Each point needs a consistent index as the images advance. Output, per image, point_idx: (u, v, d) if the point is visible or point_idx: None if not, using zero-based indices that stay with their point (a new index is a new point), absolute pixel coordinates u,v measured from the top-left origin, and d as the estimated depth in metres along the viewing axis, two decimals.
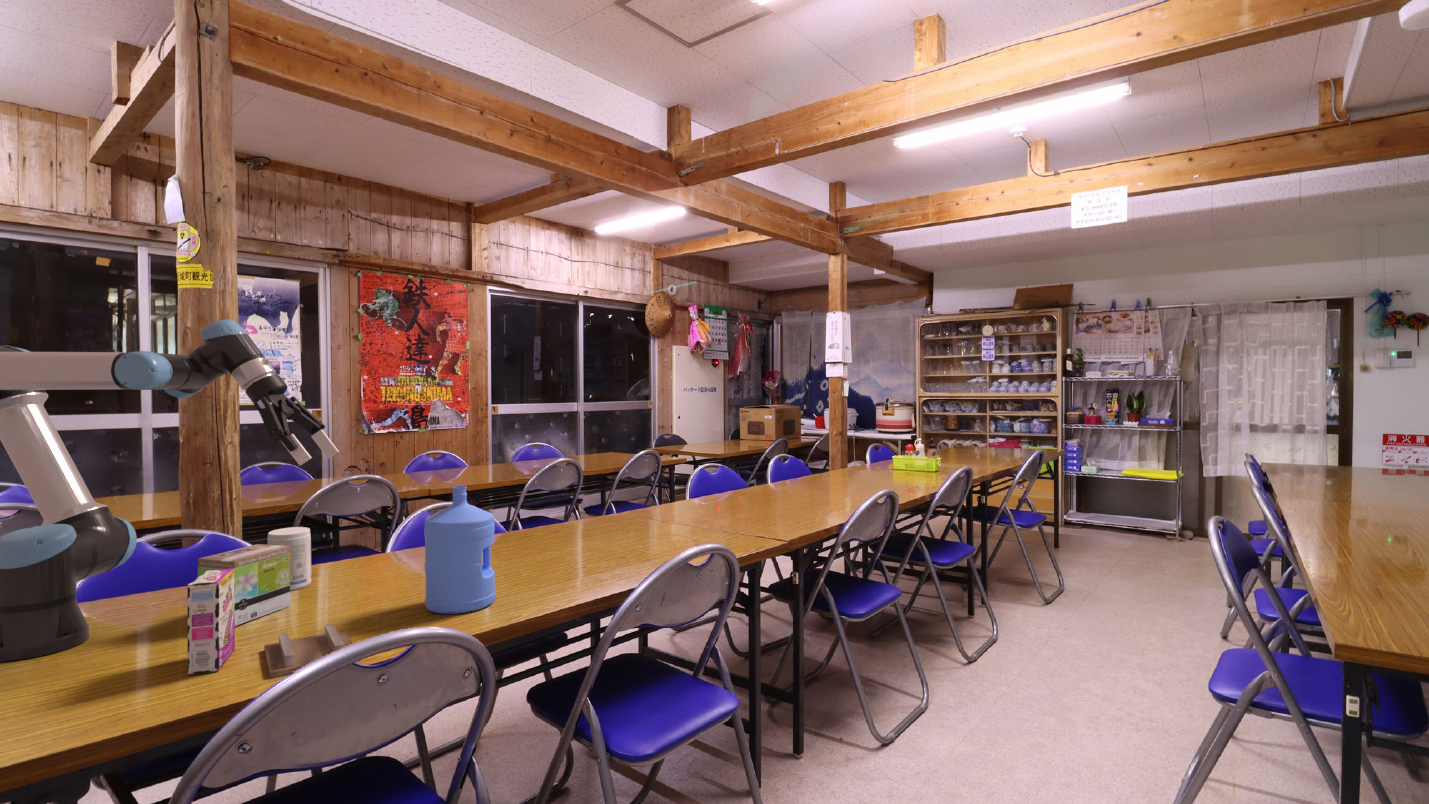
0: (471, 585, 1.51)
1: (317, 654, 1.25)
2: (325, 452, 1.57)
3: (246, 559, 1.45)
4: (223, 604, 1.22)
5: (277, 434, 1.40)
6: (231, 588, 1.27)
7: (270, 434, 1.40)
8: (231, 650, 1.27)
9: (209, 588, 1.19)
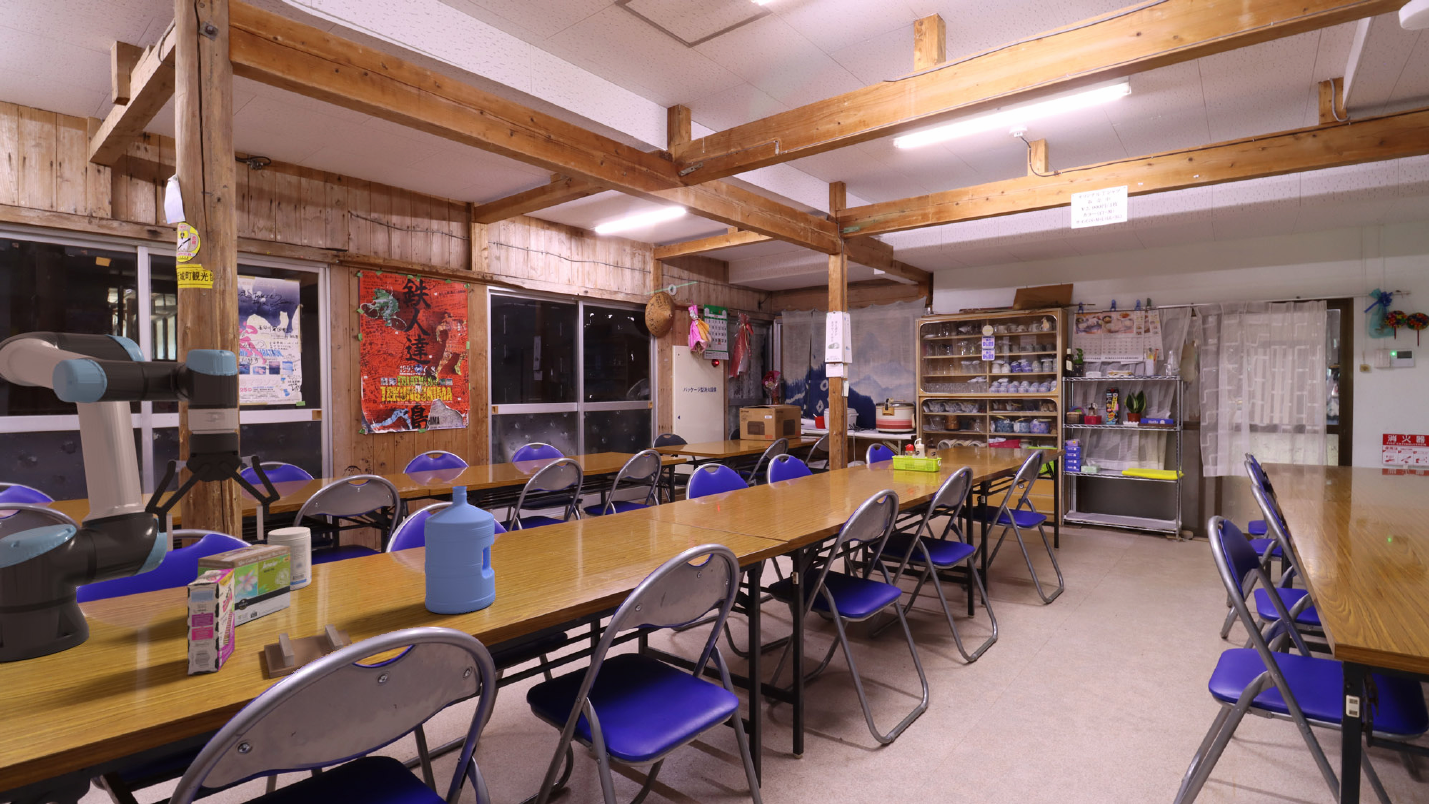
0: (471, 585, 1.51)
1: (317, 654, 1.25)
2: (257, 530, 1.30)
3: (246, 559, 1.45)
4: (223, 604, 1.22)
5: None
6: (231, 588, 1.27)
7: None
8: (231, 650, 1.27)
9: (209, 588, 1.19)
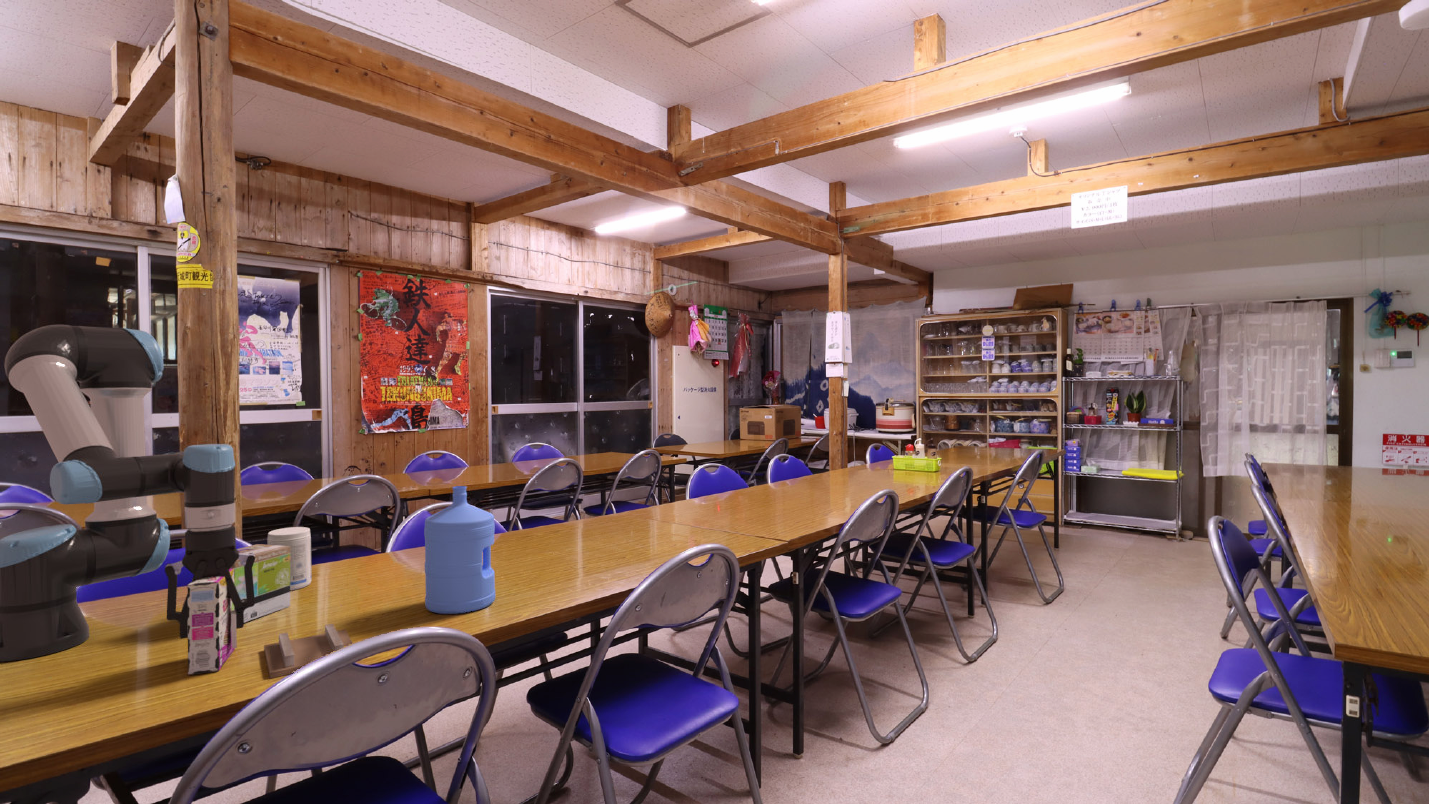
0: (471, 585, 1.51)
1: (317, 654, 1.25)
2: (231, 637, 1.27)
3: None
4: (223, 604, 1.22)
5: None
6: None
7: None
8: (231, 650, 1.28)
9: (209, 588, 1.19)
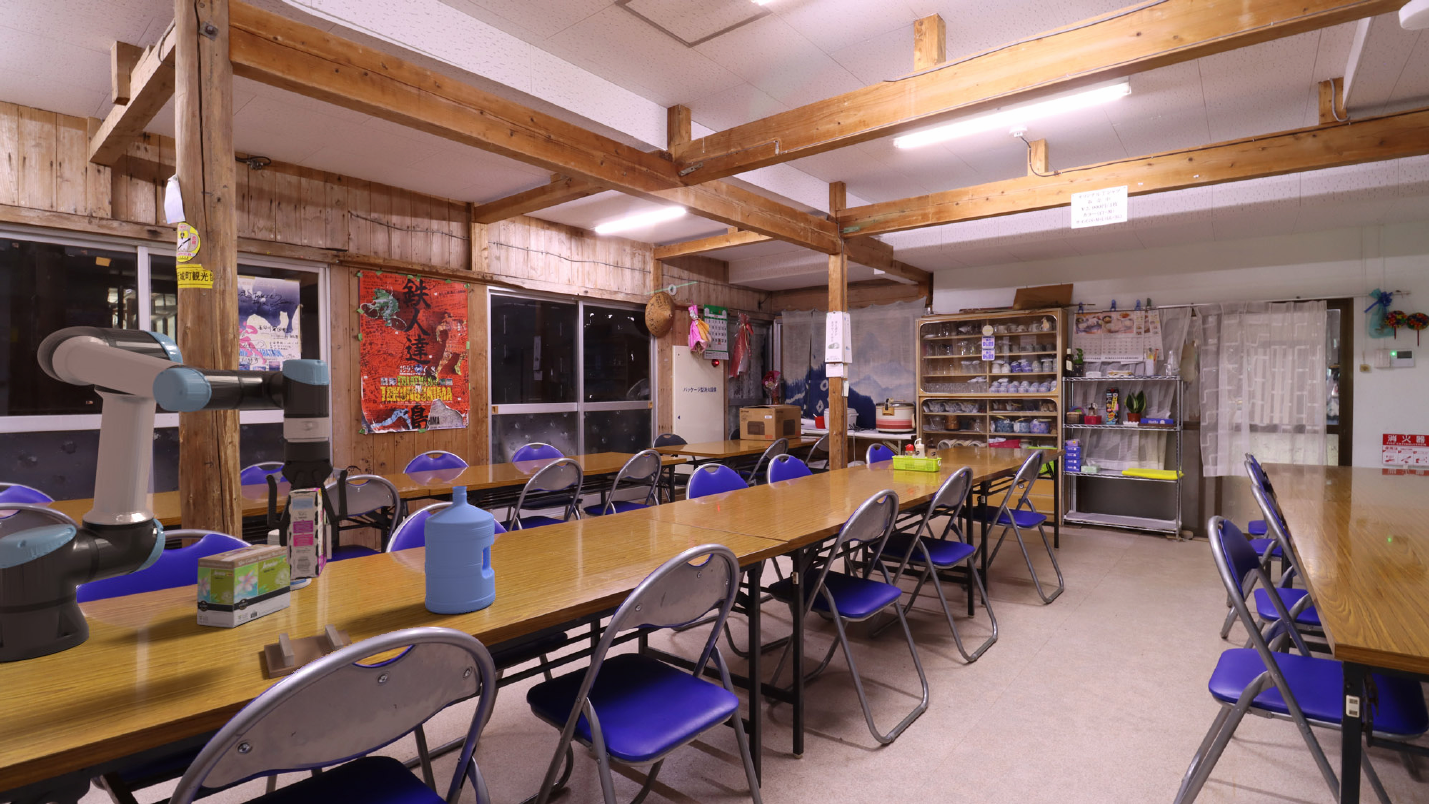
0: (471, 585, 1.51)
1: (317, 654, 1.25)
2: (325, 549, 1.30)
3: (246, 559, 1.45)
4: (320, 514, 1.25)
5: None
6: None
7: (267, 522, 1.24)
8: (325, 562, 1.31)
9: (309, 496, 1.23)
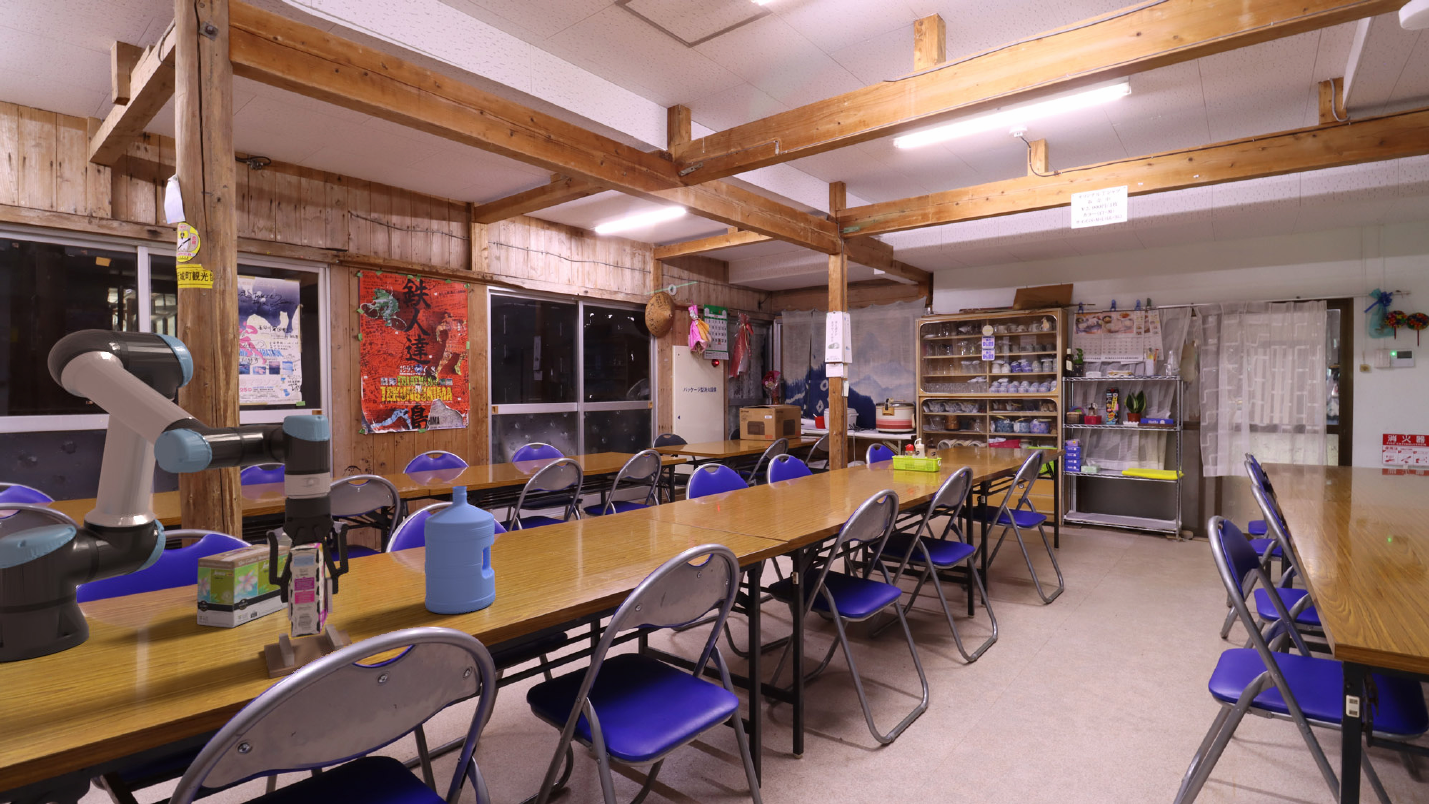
0: (471, 585, 1.51)
1: (317, 654, 1.25)
2: (326, 603, 1.30)
3: (246, 559, 1.45)
4: (321, 569, 1.26)
5: None
6: None
7: (268, 578, 1.24)
8: (326, 616, 1.31)
9: (310, 553, 1.23)
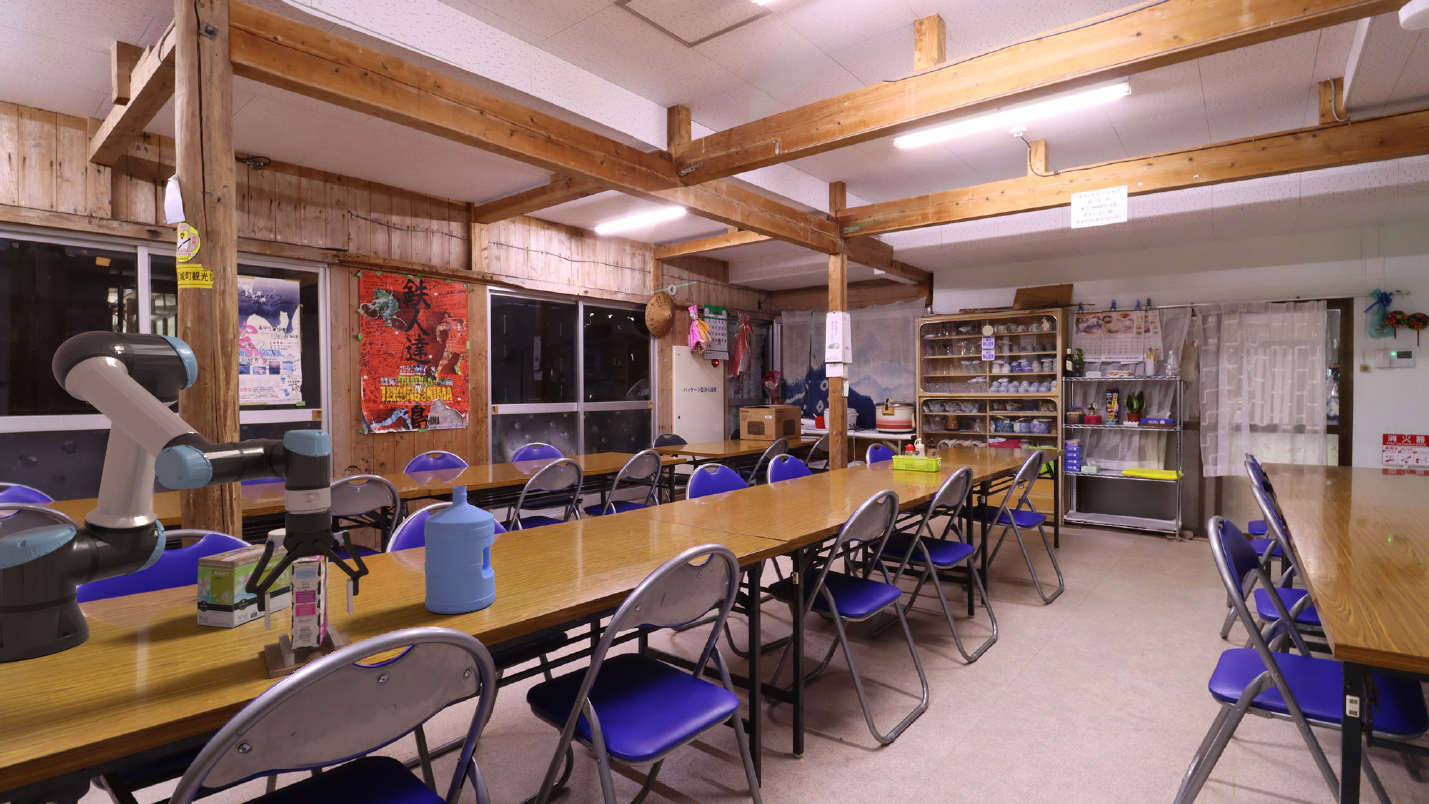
0: (471, 585, 1.51)
1: (317, 654, 1.25)
2: None
3: (246, 559, 1.45)
4: (323, 582, 1.26)
5: None
6: None
7: (246, 585, 1.22)
8: (326, 628, 1.31)
9: (312, 566, 1.23)
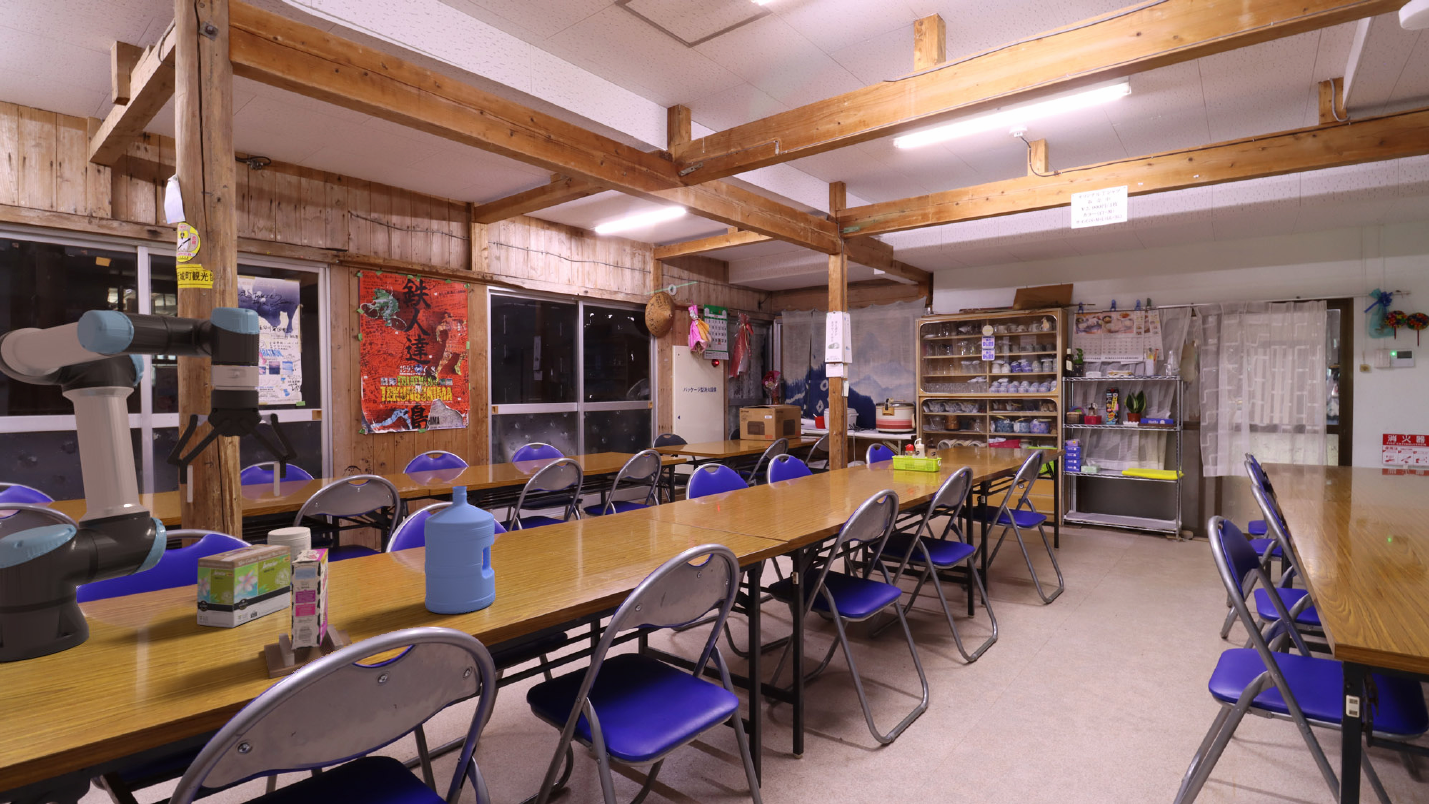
0: (471, 585, 1.51)
1: (317, 654, 1.25)
2: (274, 486, 1.33)
3: (246, 559, 1.45)
4: (323, 582, 1.26)
5: None
6: (326, 567, 1.31)
7: (168, 457, 1.23)
8: (326, 628, 1.31)
9: (312, 566, 1.23)
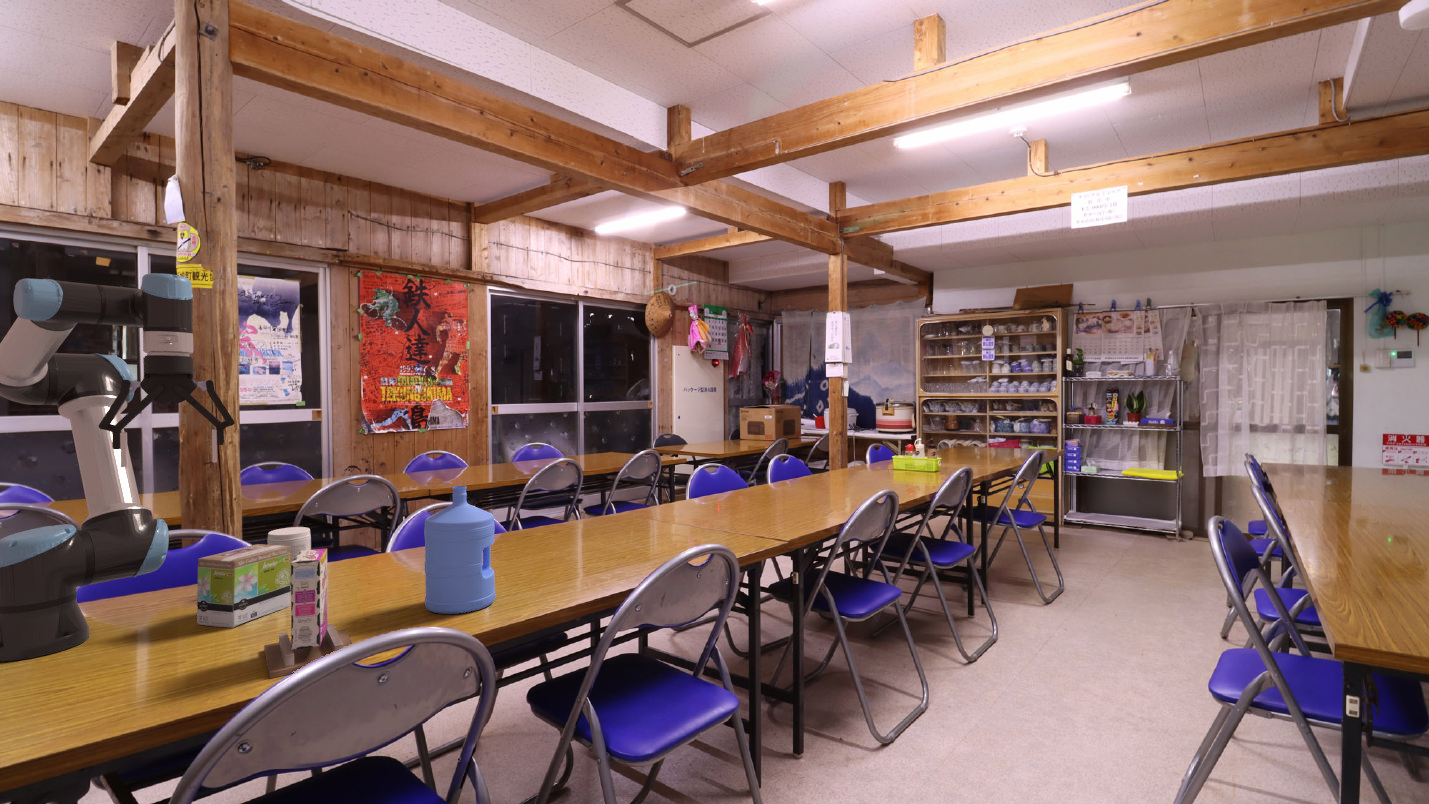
0: (471, 585, 1.51)
1: (317, 654, 1.25)
2: None
3: (246, 559, 1.45)
4: (322, 582, 1.26)
5: None
6: (326, 567, 1.31)
7: None
8: (326, 627, 1.31)
9: (311, 566, 1.23)
